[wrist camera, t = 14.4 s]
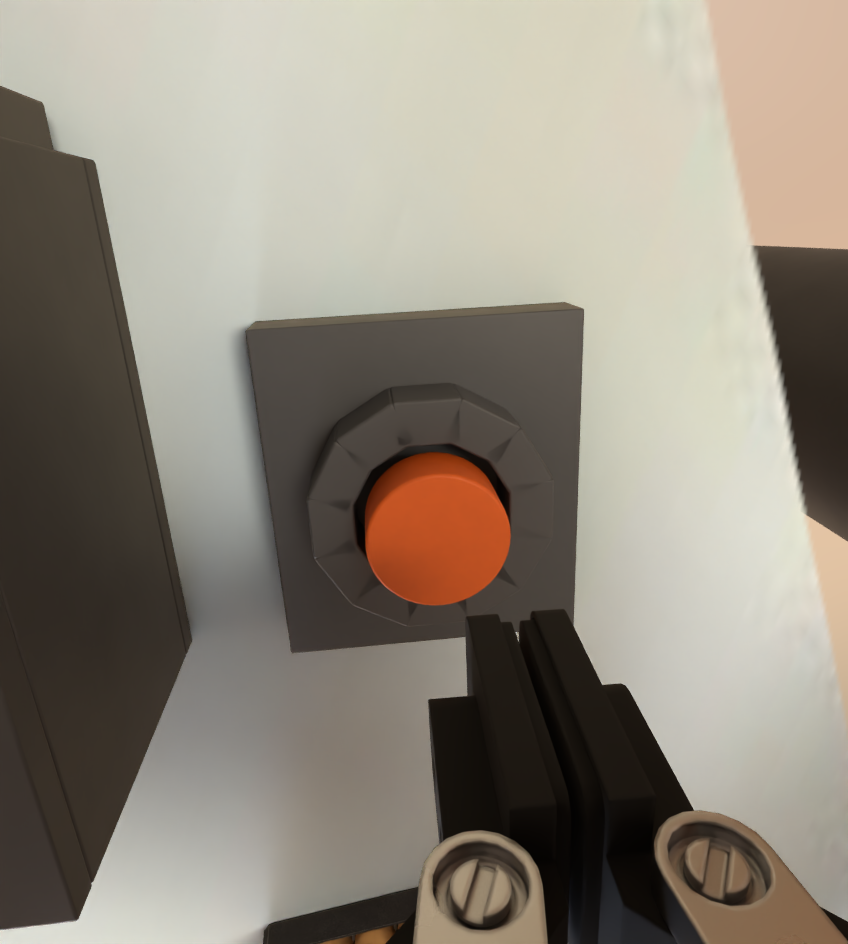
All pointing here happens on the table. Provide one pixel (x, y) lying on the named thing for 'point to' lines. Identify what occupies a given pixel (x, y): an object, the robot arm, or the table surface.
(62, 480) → the cabinet
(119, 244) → the table surface
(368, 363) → the control block
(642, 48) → the table surface
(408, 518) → the button
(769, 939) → the robot arm
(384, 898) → the ammunition clip
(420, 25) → the table surface
